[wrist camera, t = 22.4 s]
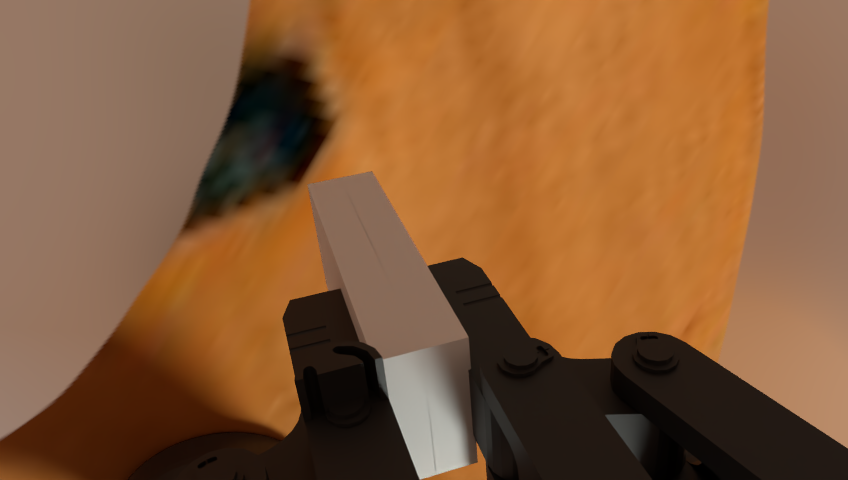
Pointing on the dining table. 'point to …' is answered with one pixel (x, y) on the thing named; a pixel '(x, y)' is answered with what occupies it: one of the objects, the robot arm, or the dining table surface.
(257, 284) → the dining table surface
